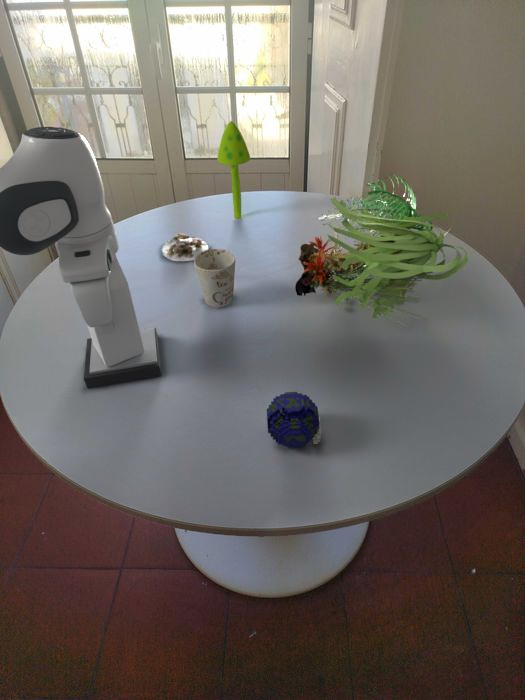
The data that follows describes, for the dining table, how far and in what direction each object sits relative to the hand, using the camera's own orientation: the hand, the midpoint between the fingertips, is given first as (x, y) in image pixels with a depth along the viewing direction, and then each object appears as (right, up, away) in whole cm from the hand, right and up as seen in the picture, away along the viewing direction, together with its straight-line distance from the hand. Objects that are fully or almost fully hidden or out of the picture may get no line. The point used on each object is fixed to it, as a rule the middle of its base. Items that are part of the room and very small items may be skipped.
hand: (109, 313), depth 80 cm
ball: (+31, -20, -6) cm, 37 cm away
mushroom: (+19, +31, +50) cm, 62 cm away
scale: (0, -8, +8) cm, 11 cm away
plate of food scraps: (+7, +19, +37) cm, 42 cm away
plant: (+48, +7, +22) cm, 53 cm away
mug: (+16, +6, +23) cm, 29 cm away
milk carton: (0, -6, +5) cm, 8 cm away
